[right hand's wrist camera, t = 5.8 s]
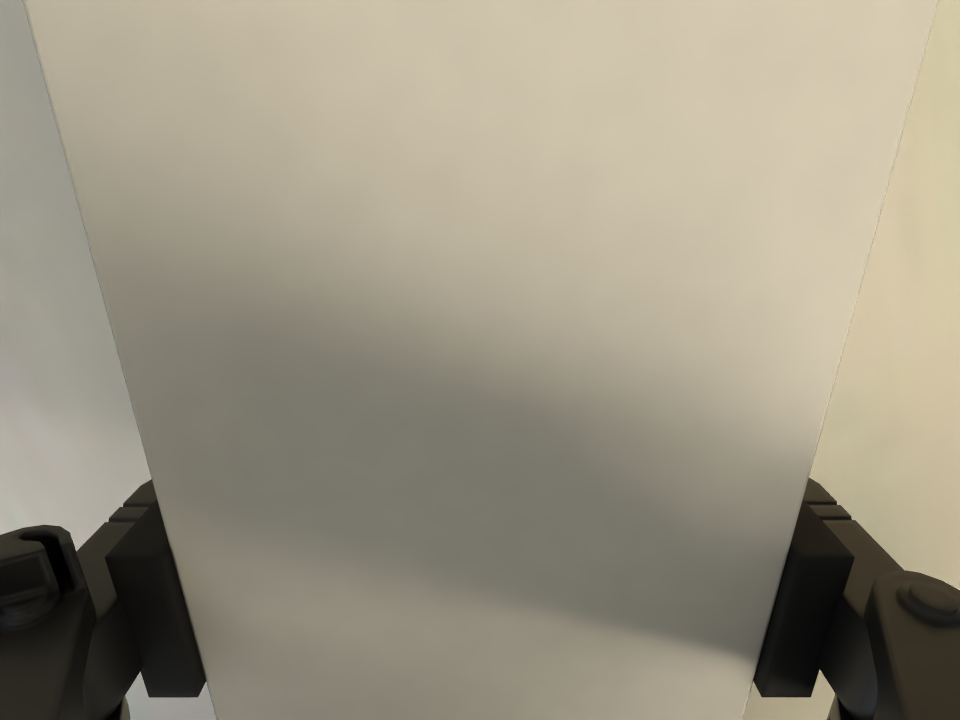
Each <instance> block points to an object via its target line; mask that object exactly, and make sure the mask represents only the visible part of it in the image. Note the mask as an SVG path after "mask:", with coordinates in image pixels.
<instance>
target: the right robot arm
mask: <svg viewBox="0 0 960 720" xmlns="http://www.w3.org/2000/svg"><path fill="white" fill-rule="evenodd" d="M819 669H820V670H821V672H822V673H823V675H824V676H825V678H826V679H827V681H828V682H829V684H830V686H831V687H832V689H833V690H834V692H835V693H836V694H835V697H834V700H833V703H832V706H831V709H830V712H829V715H828V717H827V720H960V590H958V589H956V588H954V587H952V586H951V585H949V584H947V583H945V582H943V581H941V580H938V579H936V578H933V577H930V576H927V575H924V574H921V573H917V572H911V571H905V570H903V569H902V568H901V567H900V566H899V565H898V564H897V563H896V561H895V560H894V559H893V558H892V557H891V556H890V555H889V554H888V553H887V552H886V551H885V550H884V549H883V548H882V547H881V546H880V545H879V544H878V543H877V542H876V541H875V540H874V539H873V538H872V537H871V536H870V535H869V534H868V533H867V532H866V531H865V530H864V529H863V528H862V527H861V526H860V525H859V524H858V523H857V522H856V521H855V520H852V519H851V516H850V515H849V514H848V513H847V512H846V511H845V510H844V508H843V507H842V506H841V505H837V501H836V500H835V499H834V498H833V497H832V496H831V495H830V494H829V493H828V492H827V491H826V490H825V489H824V488H823V487H822V486H821V485H820V484H819V483H817V482H815V481H814V480H812V479H810V478H808V481H807V485H806V489H805V492H804V496H803V500H802V503H801V507H800V511H799V514H798V518H797V522H796V525H795V529H794V533H793V536H792V540H791V544H790V547H789V551H788V555H787V558H786V562H785V566H784V569H783V573H782V577H781V580H780V584H779V588H778V591H777V595H776V599H775V602H774V606H773V610H772V613H771V617H770V621H769V624H768V628H767V632H766V635H765V639H764V643H763V646H762V650H761V653H760V657H759V661H758V664H757V668H756V672H755V675H754V679H753V681H754V683H755V685H756V687H757V689H758V691H759V693H760V695H761V697H811V694H812V691H813V688H814V685H815V682H816V679H817V675H818V672H819ZM140 671H141V674H142V677H143V680H144V683H145V686H146V690H147V693H148V696H149V697H198V696H199V694H200V692H201V690H202V688H203V686H204V684H205V682H206V678H205V674H204V670H203V667H202V663H201V659H200V655H199V652H198V648H197V644H196V641H195V637H194V633H193V629H192V626H191V622H190V618H189V615H188V611H187V607H186V604H185V600H184V596H183V592H182V589H181V585H180V581H179V578H178V574H177V570H176V566H175V563H174V559H173V555H172V552H171V548H170V544H169V540H168V537H167V533H166V529H165V526H164V522H163V518H162V515H161V511H160V507H159V503H158V500H157V496H156V492H155V489H154V485H153V481H152V479H151V480H150V481H148V482H146V483H145V484H143V485H141V486H140V487H139V488H138V489H137V490H136V491H135V492H134V493H133V494H132V495H131V496H130V497H129V498H128V499H127V500H126V501H125V502H124V503H123V507H120V508H119V509H118V510H117V511H116V512H115V513H114V514H113V515H112V516H111V517H110V518H109V522H105V523H104V524H103V525H102V526H101V527H100V528H99V529H98V530H97V531H96V532H95V533H94V534H93V535H92V536H91V537H90V538H89V539H88V540H87V541H86V542H85V543H84V544H83V546H82V547H81V548H80V549H79V550H78V551H77V552H76V550H75V547H74V544H73V541H72V538H71V535H70V532H68V531H67V530H65V529H64V528H62V527H60V526H51V525H40V526H33V527H26V528H21V529H18V530H15V531H12V532H9V533H5V534H2V535H0V720H130V712H129V707H128V703H127V700H126V697H125V694H126V693H127V691H128V690H129V688H130V686H131V685H132V683H133V682H134V680H135V679H136V677H137V675H138V674H139V672H140Z"/></svg>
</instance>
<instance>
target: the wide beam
mask: <svg viewBox="0 0 960 720" xmlns="http://www.w3.org/2000/svg"><path fill="white" fill-rule="evenodd" d="M938 2H939V0H23V3H24V6H25V10H26V14H27V18H28V21H29V25H30V29H31V32H32V36H33V40H34V44H35V47H36V51H37V55H38V58H39V62H40V66H41V70H42V73H43V77H44V81H45V84H46V88H47V92H48V95H49V99H50V103H51V107H52V110H53V114H54V118H55V121H56V125H57V129H58V133H59V136H60V140H61V144H62V147H63V151H64V155H65V159H66V162H67V166H68V170H69V173H70V177H71V181H72V184H73V188H74V192H75V196H76V199H77V203H78V207H79V210H80V214H81V218H82V222H83V225H84V229H85V233H86V236H87V240H88V244H89V248H90V251H91V255H92V259H93V262H94V266H95V270H96V273H97V277H98V281H99V285H100V288H101V292H102V296H103V299H104V303H105V307H106V311H107V314H108V318H109V322H110V325H111V329H112V333H113V337H114V340H115V344H116V348H117V351H118V355H119V359H120V362H121V366H122V370H123V374H124V377H125V381H126V385H127V388H128V392H129V396H130V400H131V403H132V407H133V411H134V414H135V418H136V422H137V426H138V429H139V433H140V437H141V440H142V444H143V448H144V451H145V455H146V459H147V463H148V466H149V470H150V474H151V477H152V481H153V485H154V489H155V492H156V496H157V500H158V503H159V507H160V511H161V515H162V518H163V522H164V526H165V529H166V533H167V537H168V540H169V544H170V548H171V552H172V555H173V559H174V563H175V566H176V570H177V574H178V578H179V581H180V585H181V589H182V592H183V596H184V600H185V604H186V607H187V611H188V615H189V618H190V622H191V626H192V629H193V633H194V637H195V641H196V644H197V648H198V652H199V655H200V659H201V663H202V667H203V670H204V674H205V678H206V681H207V685H208V689H209V692H210V696H211V700H212V704H213V707H214V711H215V715H216V718H217V720H742V719H743V716H744V712H745V708H746V705H747V701H748V697H749V694H750V690H751V686H752V683H753V679H754V675H755V672H756V668H757V664H758V661H759V657H760V653H761V650H762V646H763V643H764V639H765V635H766V632H767V628H768V624H769V621H770V617H771V613H772V610H773V606H774V602H775V599H776V595H777V591H778V588H779V584H780V580H781V577H782V573H783V569H784V566H785V562H786V558H787V555H788V551H789V547H790V544H791V540H792V536H793V533H794V529H795V525H796V522H797V518H798V514H799V511H800V507H801V503H802V500H803V496H804V492H805V489H806V485H807V481H808V478H809V474H810V470H811V467H812V463H813V460H814V456H815V452H816V449H817V445H818V441H819V438H820V434H821V430H822V427H823V423H824V419H825V416H826V412H827V408H828V405H829V401H830V397H831V394H832V390H833V386H834V383H835V379H836V375H837V372H838V368H839V364H840V361H841V357H842V353H843V350H844V346H845V342H846V339H847V335H848V331H849V328H850V324H851V320H852V317H853V313H854V309H855V306H856V302H857V298H858V295H859V291H860V287H861V284H862V280H863V277H864V273H865V269H866V266H867V262H868V258H869V255H870V251H871V247H872V244H873V240H874V236H875V233H876V229H877V225H878V222H879V218H880V214H881V211H882V207H883V203H884V200H885V196H886V192H887V189H888V185H889V181H890V178H891V174H892V170H893V167H894V163H895V159H896V156H897V152H898V148H899V145H900V141H901V137H902V134H903V130H904V126H905V123H906V119H907V115H908V112H909V108H910V104H911V101H912V97H913V94H914V90H915V86H916V83H917V79H918V75H919V72H920V68H921V64H922V61H923V57H924V53H925V50H926V46H927V42H928V39H929V35H930V31H931V28H932V24H933V20H934V17H935V13H936V9H937V6H938Z"/></svg>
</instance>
